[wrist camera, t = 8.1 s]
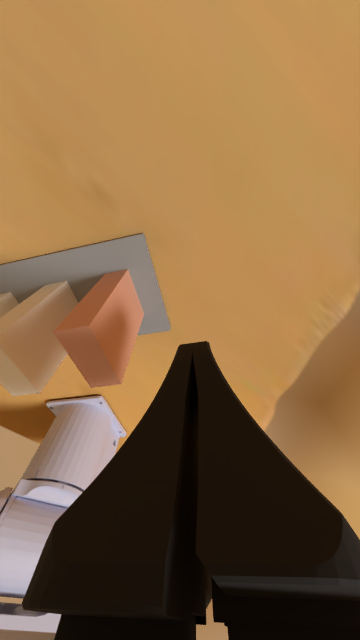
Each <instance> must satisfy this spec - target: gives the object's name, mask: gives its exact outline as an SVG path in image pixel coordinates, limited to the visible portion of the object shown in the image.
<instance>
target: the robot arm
mask: <svg viewBox="0 0 360 640" xmlns="http://www.w3.org/2000/svg"><path fill="white" fill-rule="evenodd" d="M46 406H47V407H48V408H49V409H50V410H51V411H52V412H53V414H54V415H55V416H56V417H55V419H54V421H53V423H52V424H51V426H50V428H49V430H48V432H47V433H46V435H45V437H44V439H43V440H42V442H41V444H40V446H39V448H38V449H37V451H36V453H35V455H34V456H33V458H32V460H31V462H30V464H29V465H28V467H27V469H26V471H25V473H24V474H23V476H22V478H21V479H20V481H19V482H18V484H17V485H16V487H15V488H14V490H13V491H12V489H13V488H10V487H6V488H5V489H4V490H2V491H0V596H2V597H13V598H24V599H23V602H22V604H15V603H4V602H0V640H196V624H200V625H206V608H207V607H208V605H209V603H210V601H211V599H212V601H213V618H214V622H221V623H224V625H225V626H227V627H228V636H229V640H360V540H359V538H358V537H357V535H356V534H355V532H354V531H353V529H352V528H351V526H350V525H349V523H348V522H347V520H346V519H345V518H344V516H343V515H342V513H341V512H340V511H339V510H338V509H337V508H336V507H335V506H334V505H333V504H332V503H331V502H330V501H329V500H328V499H327V498H326V497H325V496H324V495H322V493H321V492H319V490H318V489H317V488H316V487H314V485H313V484H311V482H310V481H309V480H307V478H306V477H305V476H304V475H303V474H302V473H301V472H300V471H299V470H298V469H297V468H296V467H295V466H294V465H293V464H292V463H291V461H290V460H289V459H288V458H287V457H286V456H285V455H284V454H283V453H282V452H281V451H280V449H279V448H278V447H277V446H276V445H275V444H274V443H273V442H272V440H271V439H270V438H269V437H268V436H267V435H266V433H265V432H264V431H263V430H262V429H261V428H260V426H259V425H258V424H257V423H256V421H255V420H254V419H253V418H252V416H251V415H250V414H249V413H248V411H247V410H246V409H245V407H244V406H243V405H242V403H241V402H240V400H239V399H238V398H237V396H236V395H235V393H234V392H233V390H232V389H231V387H230V386H229V384H228V382H227V381H226V379H225V378H224V376H223V374H222V372H221V370H220V369H219V367H218V365H217V363H216V361H215V359H214V357H213V354H212V352H211V349H210V345H209V342H207V341H204V342H197V343H189V344H182V345H180V346H179V347H178V349H177V352H176V355H175V357H174V360H173V362H172V365H171V367H170V369H169V371H168V373H167V375H166V377H165V379H164V381H163V383H162V385H161V387H160V389H159V391H158V393H157V394H156V396H155V398H154V400H153V402H152V403H151V405H150V406H149V408H148V410H147V411H146V413H145V414H144V416H143V417H142V419H141V420H140V422H139V423H138V425H137V426H136V428H135V429H134V430H133V432H132V433H131V435H130V436H129V437H128V439H127V440H126V441H125V443H124V444H123V445H122V447H121V448H120V449H119V451H118V452H117V453H116V450H117V446H118V442H119V438H120V437H125V436H126V432H125V430H124V429H123V427H122V426H121V424H120V423H119V421H118V420H117V418H116V416H115V415H114V413H113V412H112V410H111V409H110V407H109V406H108V404H107V403H106V401H105V400H104V398H103V397H102V396H91V397H82V398H73V399H64V400H55V401H48V402H47V404H46ZM115 453H116V454H115ZM11 491H12V493H11Z"/></svg>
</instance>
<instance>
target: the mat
mask: <svg viewBox="0 0 360 640" xmlns="http://www.w3.org/2000/svg"><path fill="white" fill-rule="evenodd" d="M126 269H128V270H129V273H130V276H131V279H132V281H133V284H134V287H135V290H136V292H137V295H138V298H139V301H140V304H141V306H142V309H143V312H144V316H143V319H142V323H141V326H140V329H139V332H138V335H143V334H150V333H156V332H163V331H170V330H171V327H170V323H169V320H168V316H167V313H166V309H165V306H164V302H163V299H162V295H161V292H160V288H159V285H158V281H157V278H156V274H155V271H154V267H153V264H152V260H151V257H150V253H149V250H148V246H147V243H146V239H145V236H144V233H140V234H136V235H131V236H127V237H122V238H118V239H113V240H109V241H104V242H100V243H95V244H91V245H86V246H82V247H77V248H73V249H68V250H64V251H59V252H55V253H50V254H46V255H41V256H37V257H32V258H28V259H23V260H19V261H14V262H10V263H5V264H1V265H0V294H2V293H7V292H11V293H12V295H13V296H14V297H15V299H16V300H17V302H18V303H19V304H20V303H21V302H23V301H24V300H26V299H27V298H28V297H30V296H31V295H32V294H34V293H35V292H37V291H38V290H39V289H41V288H42V287H43V286H45V285H48V284H53V283H58V282H63V281H67V282H68V284H69V286H70V288H71V290H72V292H73V294H74V295H75V297H76V299H77V301H78V303H79V302H80V301H81V300H82V299H83V298H84V297H85V295H86V294H87V293H88V292H89V291H90V290H91V289H92V288H93V287H94V286H95V284H96V283H97V282H98V281H99V280H100V279H101V278H102V277H103V276H104V274H106V273H111V272H116V271H121V270H126Z"/></svg>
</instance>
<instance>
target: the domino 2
mask: <svg viewBox="0 0 360 640" xmlns="http://www.w3.org/2000/svg"><path fill="white" fill-rule="evenodd" d="M143 316H144V312H143V309H142V306H141V304H140V301H139V298H138V295H137V292H136V290H135V287H134V284H133V281H132V279H131V276H130V273H129V270H128V269H126V270H121V271H116V272H111V273H106V274H104V276H103V277H102V278H101V279H100V280H99V281H98V282H97V283H96V284H95V286H94V287H93V288H92V289H91V290H90V291H89V292H88V293H87V294H86V295H85V297H84V298H83V299H82V300H81V301H80V302H79V303H78V304H77V305H76V307H75V308H74V309H73V310H72V311H71V312H70V313H69V314H68V315H67V317H66V318H65V319H64V320H63V321H62V322H61V323H60V324H59V325H58V327H57V328H56V329H55V330H54V331H53V333H54V334H55V336H56V337H57V338H58V340H59V341H60V343H61V344H62V346H63V347H64V349H65V350H66V352H67V353H68V355H69V356H70V358H71V359H72V361H73V362H74V364H75V365H76V366H77V368H78V369H79V371H80V372H81V374H82V375H83V377H84V378H85V380H86V381H87V383H88V384H89V386H90V387H91V388H92V387H101V386H109V385H117V384H121V383H122V380H123V377H124V374H125V371H126V368H127V365H128V362H129V359H130V356H131V353H132V350H133V347H134V344H135V341H136V338H137V335H138V332H139V329H140V326H141V323H142V319H143Z"/></svg>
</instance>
